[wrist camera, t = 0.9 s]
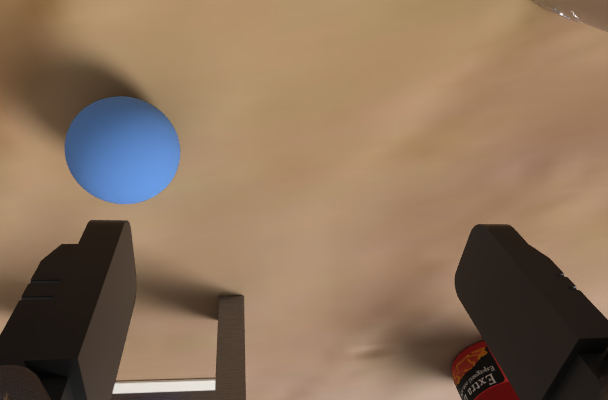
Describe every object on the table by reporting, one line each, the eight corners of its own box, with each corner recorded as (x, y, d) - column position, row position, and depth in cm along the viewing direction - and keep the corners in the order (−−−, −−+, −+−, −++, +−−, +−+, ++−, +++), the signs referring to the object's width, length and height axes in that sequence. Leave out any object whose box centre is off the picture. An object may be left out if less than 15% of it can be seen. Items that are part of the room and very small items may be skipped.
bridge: (46, 295, 34) (-12, 416, 26) (243, 295, 37) (246, 405, 29) (53, 322, 36) (0, 444, 28) (241, 320, 38) (243, 431, 30)
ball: (75, 76, 25) (37, 119, 20) (184, 85, 26) (172, 128, 22) (89, 167, 29) (59, 223, 24) (185, 172, 30) (175, 227, 25)
